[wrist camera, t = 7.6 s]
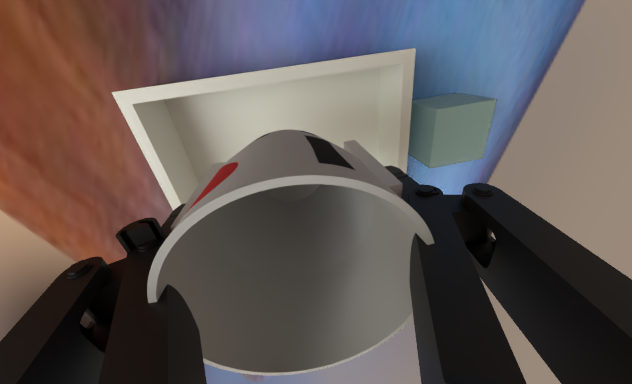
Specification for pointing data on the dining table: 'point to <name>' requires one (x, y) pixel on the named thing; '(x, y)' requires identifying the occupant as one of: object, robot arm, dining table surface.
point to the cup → (292, 258)
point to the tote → (271, 114)
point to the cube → (449, 128)
